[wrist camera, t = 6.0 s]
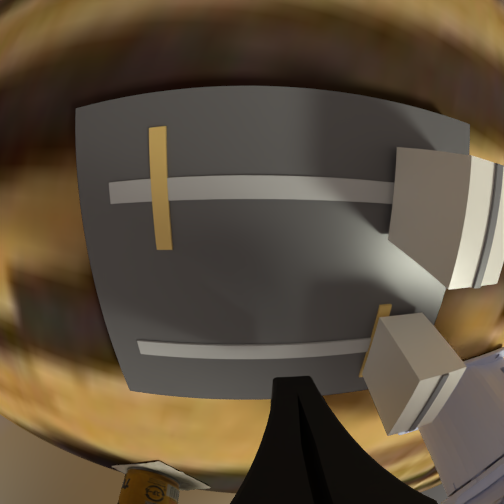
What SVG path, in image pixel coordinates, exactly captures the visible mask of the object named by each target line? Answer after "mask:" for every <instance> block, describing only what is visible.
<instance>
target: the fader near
mask: <svg viewBox="0 0 504 504" xmlns="http://www.w3.org/2000/svg"><path fill="white" fill-rule="evenodd" d="M388 241H390V242H391V243H392V244H394V245H395V246H396V247H398V248H399V249H400V250H401V251H403V252H404V253H405V254H406V255H408V256H409V257H410V258H412V259H413V260H414V261H415V262H416V263H418V264H419V265H420V266H421V267H423V268H424V269H425V270H426V271H427V272H429V273H430V274H431V275H432V276H433V277H434V278H436V279H437V280H438V281H439V282H440V283H441V284H443V285H444V286H445V287H446V288H447V289H458V288H467V287H473V288H480V287H481V286H483V285H491V284H497V282H498V279H499V275H500V272H501V269H502V265H503V262H504V166H503V165H500V164H497V163H493V162H490V161H487V160H484V159H481V158H478V157H474V156H471V155H464V154H458V153H450V152H443V151H434V150H425V149H415V148H403V147H397V154H396V171H395V184H394V195H393V204H392V213H391V221H390V228H389V235H388Z"/></svg>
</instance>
